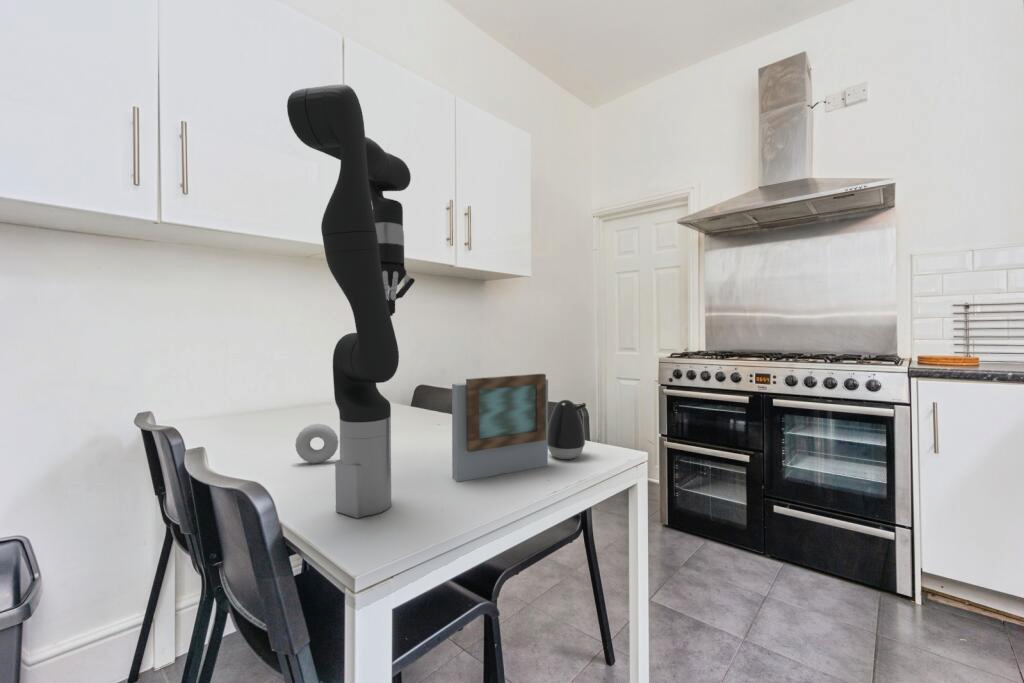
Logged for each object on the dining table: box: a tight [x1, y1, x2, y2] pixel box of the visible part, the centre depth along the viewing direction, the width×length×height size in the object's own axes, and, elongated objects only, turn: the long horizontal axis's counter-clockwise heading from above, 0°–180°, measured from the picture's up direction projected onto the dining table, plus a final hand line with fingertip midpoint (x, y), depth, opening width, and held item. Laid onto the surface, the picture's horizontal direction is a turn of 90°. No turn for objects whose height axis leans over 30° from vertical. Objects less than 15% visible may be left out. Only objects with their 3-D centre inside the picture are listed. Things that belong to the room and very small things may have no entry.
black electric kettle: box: [548, 399, 587, 460], centre depth 117 cm, size 10×10×15 cm
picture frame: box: [465, 373, 547, 452], centre depth 102 cm, size 20×2×16 cm, turn 119°
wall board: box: [451, 378, 549, 482], centre depth 105 cm, size 24×3×22 cm, turn 119°
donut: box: [295, 423, 339, 464], centre depth 111 cm, size 10×4×10 cm, turn 104°
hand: (388, 315), depth 108 cm, fingers closed
